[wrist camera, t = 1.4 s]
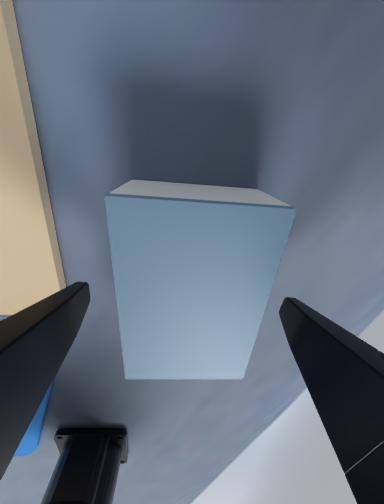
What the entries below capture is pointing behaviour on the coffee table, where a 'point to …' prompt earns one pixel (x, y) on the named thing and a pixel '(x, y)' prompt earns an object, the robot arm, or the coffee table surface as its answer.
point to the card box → (192, 275)
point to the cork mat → (22, 187)
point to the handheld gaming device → (34, 429)
